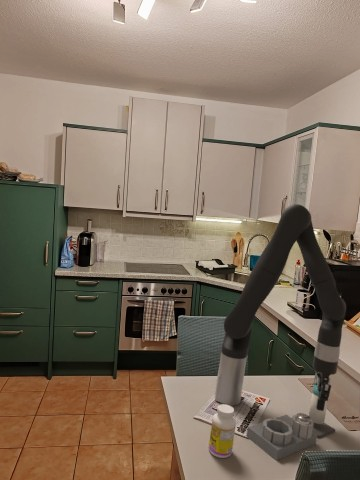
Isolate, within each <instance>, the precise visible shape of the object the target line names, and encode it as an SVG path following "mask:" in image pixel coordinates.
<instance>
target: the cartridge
mask: <svg viewBox="0 0 360 480" xmlns="http://www.w3.org/2000/svg"><path fill="white" fill-rule="evenodd" d="M320 389H321V388H320ZM322 396H324V394H323V395H322ZM317 400H318V391H317V385H314V384H313V387H312V394H311V400H310V407H309V411H308V412H309V413H308V416H309V417H310V419H311V420H312V421H313V422H314V423H317V424H323V423H325V422H326V421H325V420H326V414H327V413H326V412H327V407H328V401H329V400H328V401H325V406H324V410H323V411H320V410H317V408H316V407H317Z"/></svg>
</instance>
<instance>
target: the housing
mask: <svg viewBox="0 0 360 480" xmlns="http://www.w3.org/2000/svg"><path fill="white" fill-rule="evenodd" d="M296 416H297V414H295V415H292V417H291V416H289V415H288V414H284V415H280V416H278V417H275V418H273V417H272V418H271V417H268V418H266V419H263V421H262V422H258V423H256V424H252V425H250V426H249V425H248V426H247V429H246V430H247V431H246V437H247V438H248V439H249V440H250V441H251V442H253V443H254V444H255V445H256V446H258V447H259V448H260V449H261V450H263V451H264V452H265V453H267V455H269V456H270V457H271V458H273V459H274V460H275V461H278V460H281V459H283V458H285V457H288V456H290V455H293V454H295V453H298V452H300V451H303V450H305V449H308V448H310V447H313V446H315V445H316V444H317V439H318V438H317V434H315V433H314V432H312V431H313V421H312V420H311V419H310V423H309V424H308V425H305V424H301V423H299V422H298V421H296Z"/></svg>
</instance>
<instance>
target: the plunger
mask: <svg viewBox="0 0 360 480" xmlns="http://www.w3.org/2000/svg"><path fill="white" fill-rule="evenodd" d="M296 415H297V416H296V421H298V422H299V423H301V424H305V425H308V424H309V423H310V417H309V414H306V413H303V412H298V413H296Z"/></svg>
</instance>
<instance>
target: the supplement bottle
mask: <svg viewBox="0 0 360 480" xmlns="http://www.w3.org/2000/svg"><path fill="white" fill-rule="evenodd" d="M234 412H235V409H234V406H230V405H226V404H222V403H220V404H218V406H217V409H216V413H215V414H214V415H213V416H212V419H211V427H210V432H209V433H210V434H209V439H208V440H209V441H208V451H209V452H210V454H211V455H212V456H214V457H216V458H220V459H225V458H229V457H230V456H231V455H232V452H233V446H234V440H235V433H236V432H235V431H236V424H237V420H236V418H235V417H234V416H235V415H234V414H235V413H234Z"/></svg>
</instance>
